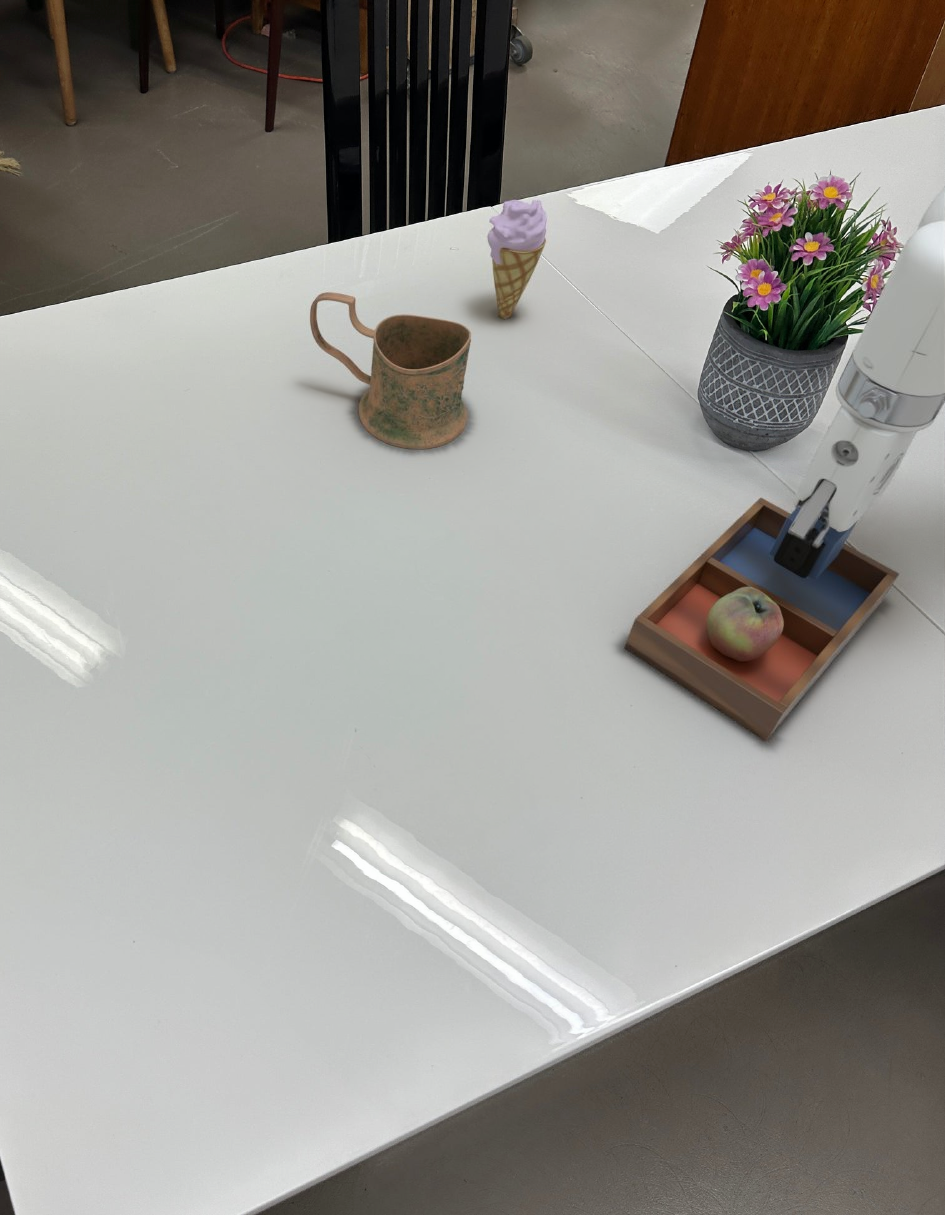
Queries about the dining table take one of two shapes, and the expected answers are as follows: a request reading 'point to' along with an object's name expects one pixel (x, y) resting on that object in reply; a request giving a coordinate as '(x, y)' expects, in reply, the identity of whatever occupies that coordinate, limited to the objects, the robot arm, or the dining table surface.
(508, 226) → the ice cream cone
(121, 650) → the dining table surface
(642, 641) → the sorting tray
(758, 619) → the apple
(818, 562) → the blue block
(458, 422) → the mug
